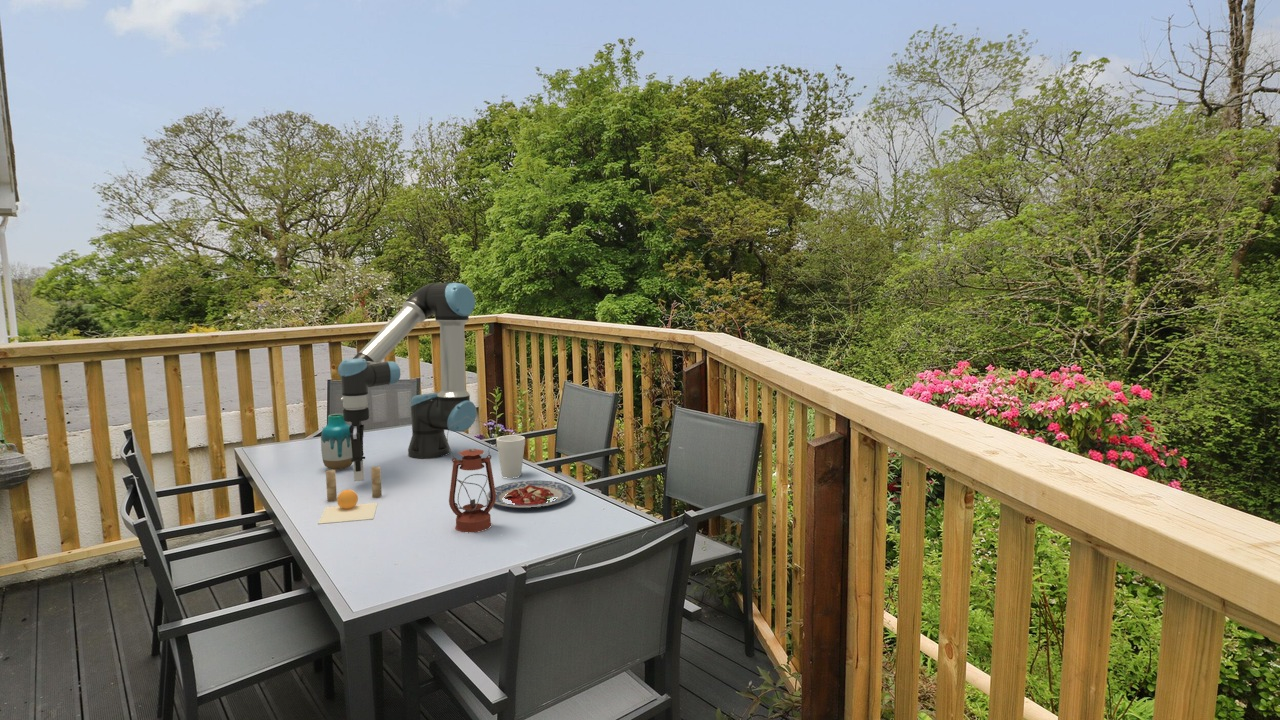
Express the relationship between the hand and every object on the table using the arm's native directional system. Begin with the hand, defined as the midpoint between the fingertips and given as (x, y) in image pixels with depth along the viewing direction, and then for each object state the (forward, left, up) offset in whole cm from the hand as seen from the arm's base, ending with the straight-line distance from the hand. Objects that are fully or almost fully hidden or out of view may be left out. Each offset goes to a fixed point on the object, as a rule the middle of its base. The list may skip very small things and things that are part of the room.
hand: (359, 480), depth 218 cm
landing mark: (0, +27, -2) cm, 27 cm away
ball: (+1, +22, +1) cm, 23 cm away
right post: (-6, +13, -2) cm, 15 cm away
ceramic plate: (-51, +28, -2) cm, 58 cm away
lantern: (-33, +47, -2) cm, 57 cm away
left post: (+6, +13, -2) cm, 15 cm away
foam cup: (-48, +2, -2) cm, 48 cm away
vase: (+9, -24, -2) cm, 25 cm away
